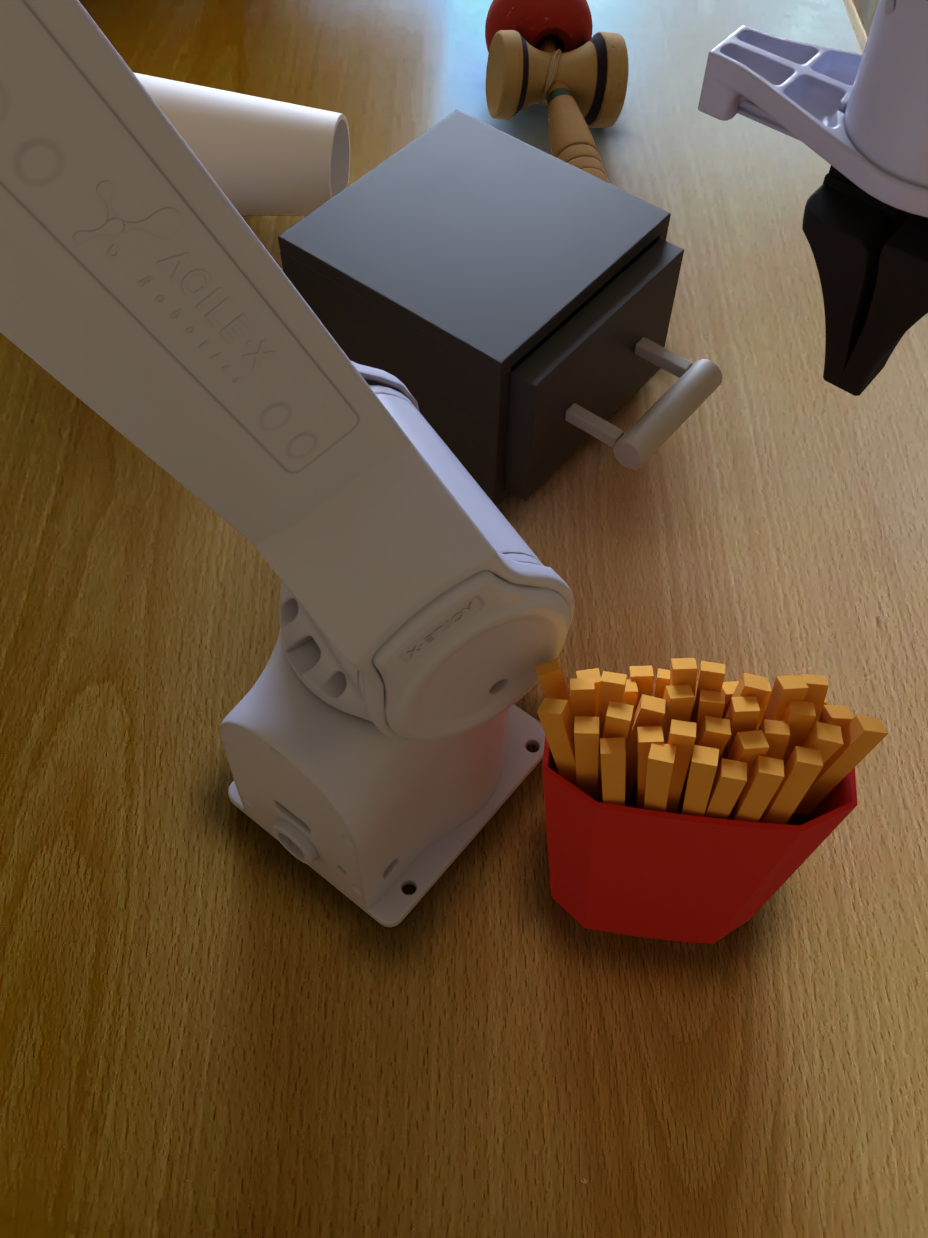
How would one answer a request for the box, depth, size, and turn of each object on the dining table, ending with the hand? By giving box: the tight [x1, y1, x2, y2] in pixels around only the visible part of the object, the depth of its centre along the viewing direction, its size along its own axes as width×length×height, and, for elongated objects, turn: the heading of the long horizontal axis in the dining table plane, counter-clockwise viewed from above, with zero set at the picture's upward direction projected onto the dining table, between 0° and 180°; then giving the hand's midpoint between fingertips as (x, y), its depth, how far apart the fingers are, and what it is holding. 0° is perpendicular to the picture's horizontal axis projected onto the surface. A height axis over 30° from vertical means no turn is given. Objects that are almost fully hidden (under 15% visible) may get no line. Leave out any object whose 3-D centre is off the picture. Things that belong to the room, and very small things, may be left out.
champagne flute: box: [132, 71, 351, 217], centre depth 59 cm, size 7×7×24 cm
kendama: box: [484, 0, 630, 184], centre depth 63 cm, size 8×6×18 cm
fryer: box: [277, 109, 672, 507], centre depth 51 cm, size 11×11×8 cm
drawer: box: [504, 238, 723, 502], centre depth 50 cm, size 14×10×7 cm
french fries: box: [535, 657, 889, 945], centre depth 35 cm, size 9×4×13 cm, turn 83°
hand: (853, 372), depth 40 cm, fingers closed
